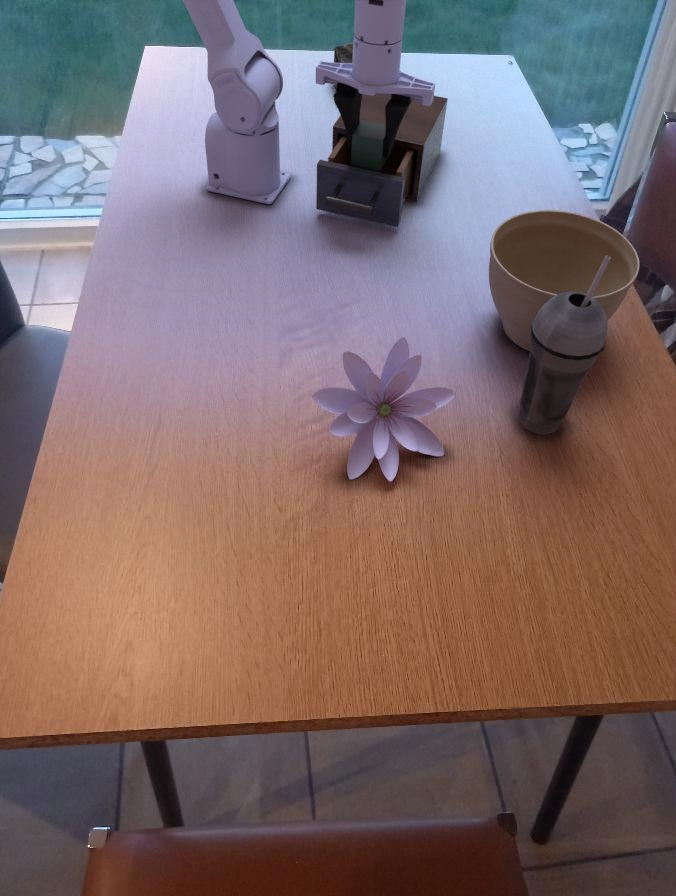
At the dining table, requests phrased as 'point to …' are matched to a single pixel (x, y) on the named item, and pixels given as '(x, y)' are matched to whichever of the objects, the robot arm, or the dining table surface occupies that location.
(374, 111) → the cabinet
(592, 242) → the planter bowl
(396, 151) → the drawer
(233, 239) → the dining table surface
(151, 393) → the dining table surface
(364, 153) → the block
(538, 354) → the beverage cup
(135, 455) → the dining table surface
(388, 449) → the water lily
